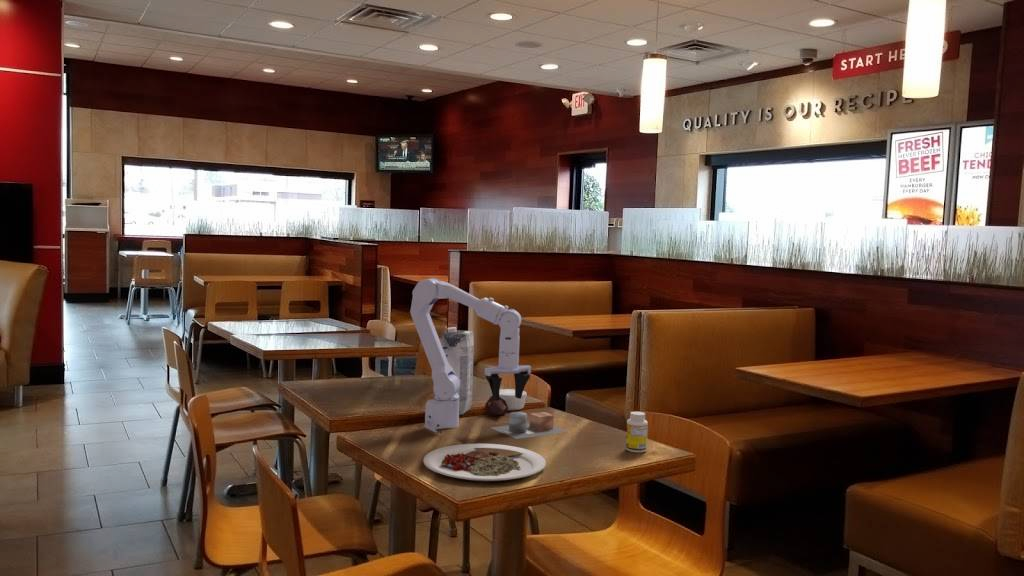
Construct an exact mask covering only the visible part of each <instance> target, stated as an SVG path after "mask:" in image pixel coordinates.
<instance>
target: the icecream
mask: <svg viewBox="0 0 1024 576" xmlns="http://www.w3.org/2000/svg"><path fill="white" fill-rule="evenodd" d="M484 408H485V412H486V415H487V416H504V415H506V414H507V413H508V411H509V410H508V405H507V403H506V401H505V400H504V399H502V398H501V397H499V401H496V400H493V396H492V395H490V397H489V399H488V400H487V401H486V402H485V406H484Z"/></svg>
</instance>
